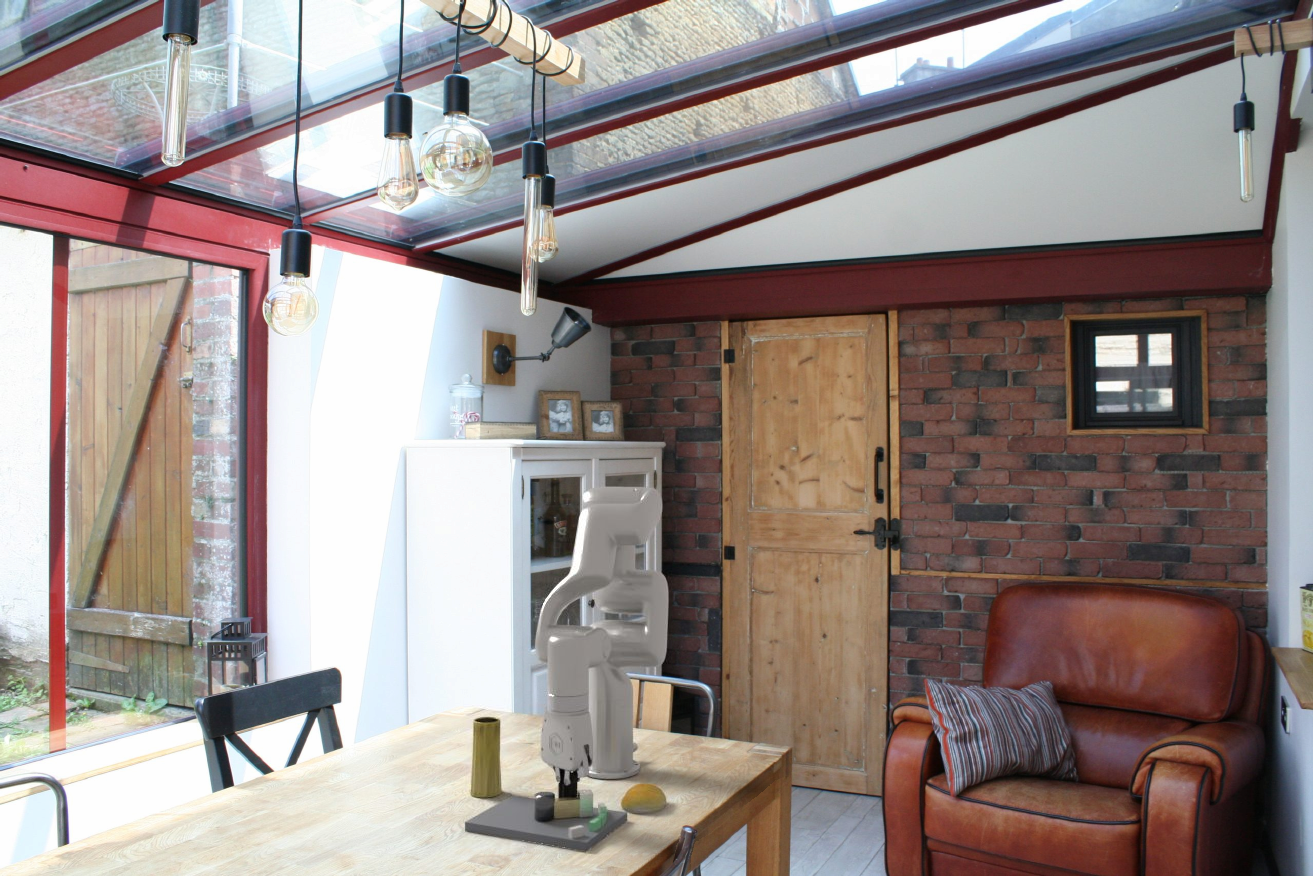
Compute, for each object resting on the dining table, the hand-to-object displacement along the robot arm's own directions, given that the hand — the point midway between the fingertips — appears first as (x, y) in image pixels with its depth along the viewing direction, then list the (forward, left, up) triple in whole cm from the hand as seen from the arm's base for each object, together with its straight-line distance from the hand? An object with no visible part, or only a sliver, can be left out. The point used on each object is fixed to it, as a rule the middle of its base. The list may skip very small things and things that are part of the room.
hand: (567, 804), depth 178 cm
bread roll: (-13, +9, -3) cm, 16 cm away
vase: (-7, -22, -3) cm, 23 cm away
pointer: (+3, +1, -1) cm, 3 cm away
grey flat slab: (+4, -2, -3) cm, 5 cm away
